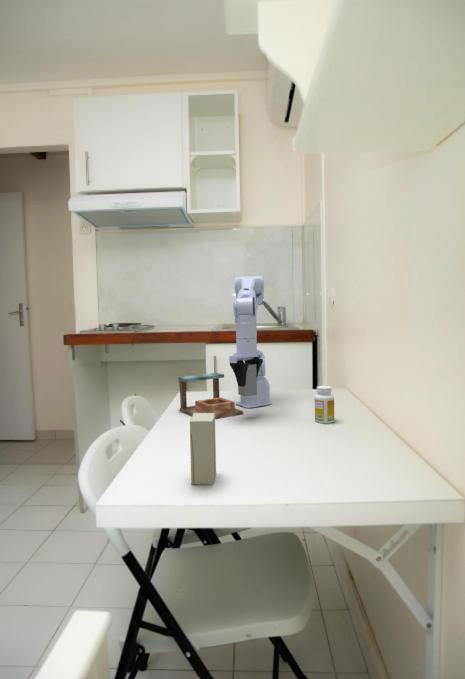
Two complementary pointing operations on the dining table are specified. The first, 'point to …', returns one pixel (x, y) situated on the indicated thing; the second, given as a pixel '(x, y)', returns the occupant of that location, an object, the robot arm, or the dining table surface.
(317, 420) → the supplement bottle
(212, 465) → the skincare box
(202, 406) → the socket station
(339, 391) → the dining table surface
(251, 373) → the steel peg
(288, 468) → the dining table surface
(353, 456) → the dining table surface
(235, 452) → the dining table surface
